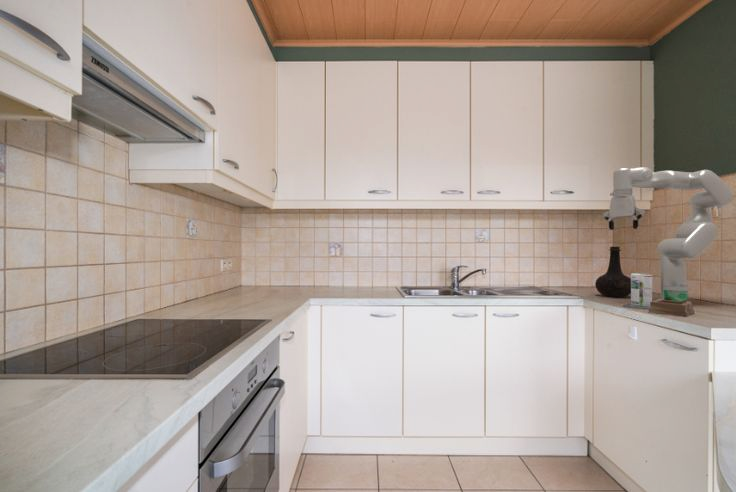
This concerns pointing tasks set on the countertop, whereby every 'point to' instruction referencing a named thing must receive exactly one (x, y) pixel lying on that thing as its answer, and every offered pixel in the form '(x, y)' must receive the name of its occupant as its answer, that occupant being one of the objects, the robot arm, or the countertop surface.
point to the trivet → (636, 306)
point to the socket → (671, 308)
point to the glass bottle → (614, 278)
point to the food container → (676, 293)
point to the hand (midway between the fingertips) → (623, 229)
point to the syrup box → (641, 289)
